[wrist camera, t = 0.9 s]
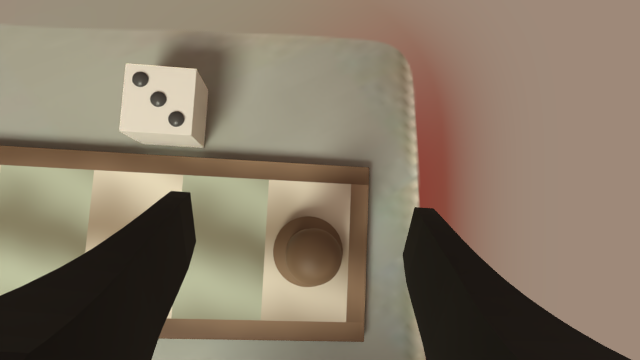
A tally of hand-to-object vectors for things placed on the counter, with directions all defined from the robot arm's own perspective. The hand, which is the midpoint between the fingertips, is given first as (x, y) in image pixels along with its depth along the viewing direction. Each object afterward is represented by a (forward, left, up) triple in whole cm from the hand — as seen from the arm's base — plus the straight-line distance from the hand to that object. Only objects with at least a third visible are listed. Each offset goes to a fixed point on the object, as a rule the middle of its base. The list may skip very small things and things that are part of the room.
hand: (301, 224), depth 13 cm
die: (+7, +8, -14) cm, 18 cm away
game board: (-2, +10, -14) cm, 17 cm away
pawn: (-2, -1, -13) cm, 13 cm away
